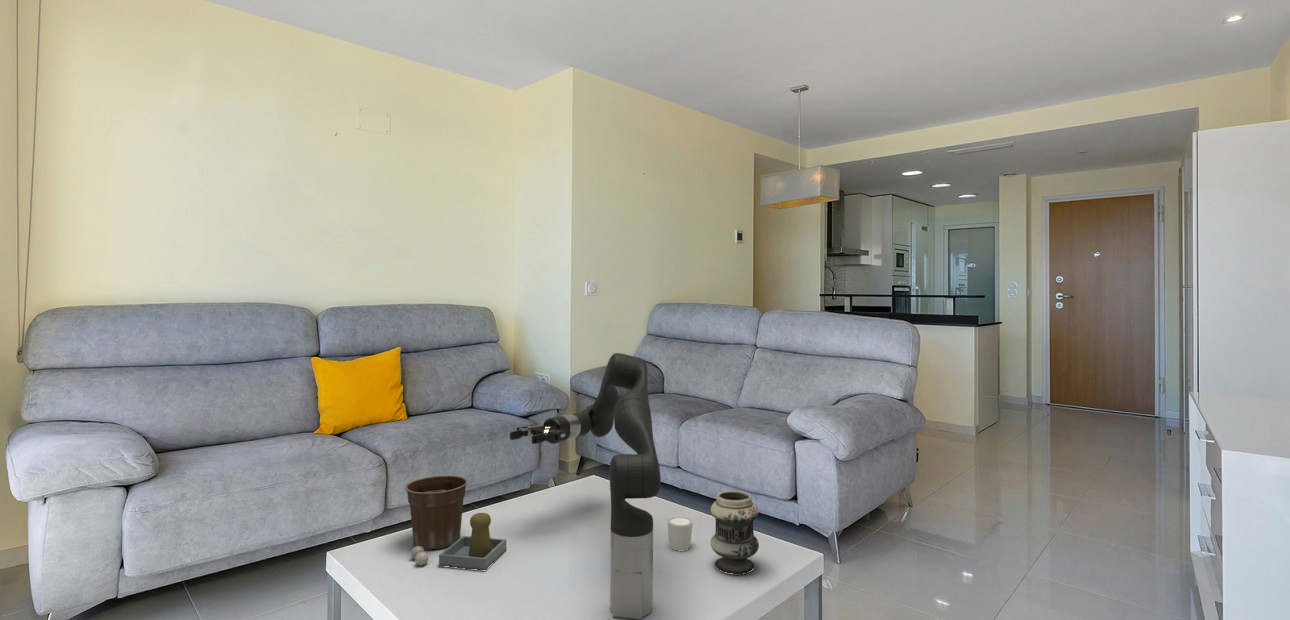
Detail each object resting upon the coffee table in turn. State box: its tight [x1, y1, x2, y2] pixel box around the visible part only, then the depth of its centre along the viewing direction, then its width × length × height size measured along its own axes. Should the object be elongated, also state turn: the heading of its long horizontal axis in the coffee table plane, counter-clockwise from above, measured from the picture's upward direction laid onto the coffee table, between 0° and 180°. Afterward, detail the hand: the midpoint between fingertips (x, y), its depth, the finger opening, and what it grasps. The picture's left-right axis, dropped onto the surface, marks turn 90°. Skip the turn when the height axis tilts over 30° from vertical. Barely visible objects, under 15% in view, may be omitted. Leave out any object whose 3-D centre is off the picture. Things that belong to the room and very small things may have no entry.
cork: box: [469, 512, 492, 558], centre depth 153 cm, size 6×6×11 cm
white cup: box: [667, 516, 693, 552], centre depth 161 cm, size 7×7×7 cm
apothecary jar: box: [709, 490, 760, 575], centre depth 150 cm, size 12×12×18 cm
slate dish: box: [438, 535, 507, 571], centre depth 153 cm, size 12×12×3 cm
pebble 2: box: [414, 551, 430, 566], centre depth 150 cm, size 3×3×3 cm
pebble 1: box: [410, 546, 425, 560], centre depth 153 cm, size 3×3×3 cm
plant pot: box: [404, 475, 468, 551], centre depth 164 cm, size 16×16×16 cm
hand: (521, 438), depth 163 cm, fingers open, 8 cm apart
